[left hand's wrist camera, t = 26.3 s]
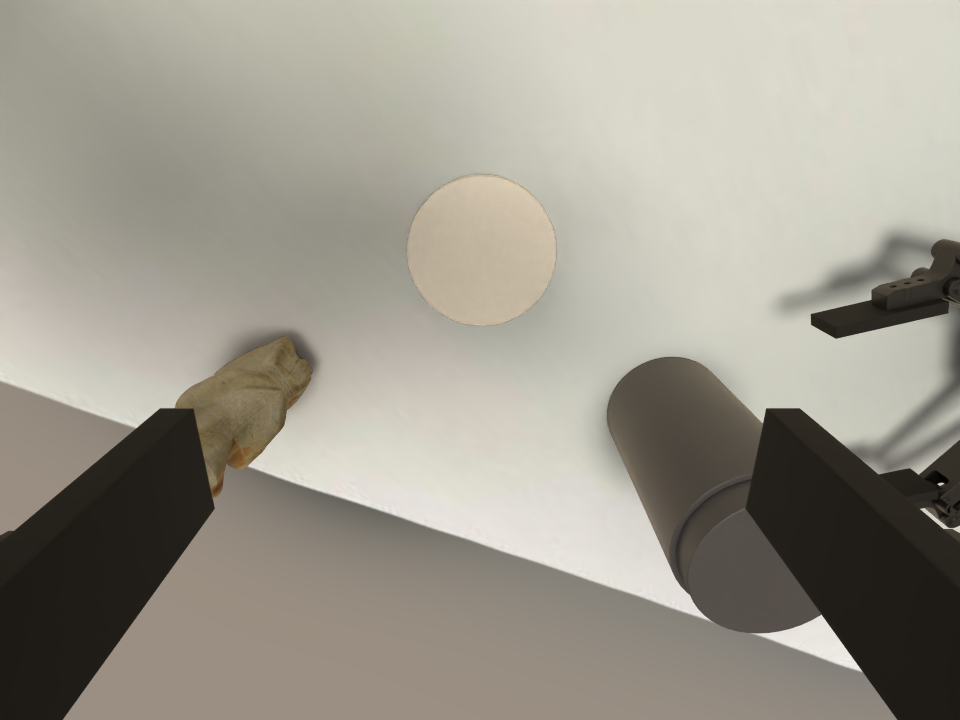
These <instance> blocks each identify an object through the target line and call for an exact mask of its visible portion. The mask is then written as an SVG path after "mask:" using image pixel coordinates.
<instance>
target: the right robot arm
mask: <svg viewBox="0 0 960 720" xmlns="http://www.w3.org/2000/svg"><path fill="white" fill-rule="evenodd" d="M931 255H932V256H933V257H934V258H935V259H934V261H933V264H932V266H931V268H930V269H927V268H924V267H923V268H918V269H916V270H915V271H914V272H913V273H912V275H911V278H908V279H904V280H900V281H895V282H891V283H887V284H882V285H879V286H878V287H876V288H874V289H873V290H872V300H870V301H865V302H861V303H857V304H852V305H848V306H844V307H839V308H835V309H831V310H826V311H822V312H818V313H814V314H811V325H812V326H814V327H816V328H818V329H820V330H821V331H823V332H825V333H827V334H829V335H830V336H832V337H834V338H836V339H837V338H841V337H845V336H850V335H854V334H859V333H863V332H867V331H872V330H876V329H881V328H885V327H889V326H894V325H898V324H903V323H907V322H911V321H916V320H920V319H925V318H929V317H933V316H938V315H942V314H947V313H948V309H949V303H950V304H952V305H954V306H956V307H958V308H959V309H960V242H955V241H951V240H944V239H942V240H940V241H938V242H936V243H935V244H934V245H933V247H932V250H931ZM879 475H880V476H881V477H882V478H883V479H884V480H886V481H887V482H888V483H889V484H890V485H892V486H893V487H894V488H895V489H896V490H898V491H899V492H900V493H901V494H902V495H904V496H905V497H906V498H907V499H908V500H909V501H911V502H912V503H913V504H914V505H915V506H917V507H918V508H919V509H921V508H925V509H926V510H927V511H929V512H930V513H931V514H932V515H934V516H935V517H936V518H937V519H938V520H940V521H941V522H942V523H943V524H945V525H946V526H947V527H949V528H955V527H958V526H960V440H959V441H958V442H957V443H956V444H954V445H953V446H952V447H951V448H950V449H949V450H947V451H946V452H945V453H944V454H943V455H942V456H940V457H939V458H938V459H937V460H936V461H935V462H933V463H932V464H931V465H930V466H929V467H928V468H926V469H925V470H924V471H923V472H922V473H921V474H919V475H918V474H917V473H915V472H914V471H913V470H911V469H910V468H908V469H903V470H899V471H894V472H889V473H884V474H879ZM938 483H945V484H943V485H942V486H939V485H938Z"/></svg>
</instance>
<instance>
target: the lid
mask: <svg viewBox="0 0 960 720" xmlns="http://www.w3.org/2000/svg"><path fill="white" fill-rule="evenodd" d="M556 253H557V247H556V238H555V234H554V229H553V227H552V224H551V221H550V219H549V217H548V215H547V213H546V211H545V210H544V209H543V207H542V206H541V204H540V203H539V202H538V201H537V200H536V199H535V198H534V197H533V196H532V195H531V194H530V193H529V192H528V191H527V190H526V189H524V188H523V187H522V186H520V185H518V184H517V183H515V182H513V181H511V180H508V179H506V178H503V177H499V176H495V175H488V174H475V175H468V176H464V177H461V178H457V179H455V180H453V181H450V182H448V183H447V184H445V185H443V186H442V187H440V188H439V189H438V190H437V191H435V192H434V193H433V194H432V195H431V196H430V197H429V198H428V199H427V200H426V202H425V203H424V204H423V205H422V207H421V208H420V209H419V211H418V212H417V214H416V216H415V218H414V220H413V222H412V225H411V228H410V231H409V236H408V241H407V261H408V266H409V271H410V274H411V277H412V280H413V282H414V284H415V286H416V288H417V289H418V291H419V293H420V294H421V296H422V297H423V298H424V299H425V300H426V302H427V303H428V304H429V305H430V306H432V307H433V308H434V309H435V310H436V311H438V312H439V313H441V314H442V315H444V316H446V317H447V318H449V319H451V320H454V321H457V322H459V323H463V324H467V325H475V326H489V325H496V324H500V323H504V322H507V321H509V320H512V319H514V318H516V317H518V316H519V315H521V314H523V313H524V312H526V311H527V310H528V309H530V308H531V307H532V306H533V305H534V304H535V303H536V302H537V301H538V300H539V298H540V297H541V296H542V295H543V293H544V292H545V290H546V288H547V287H548V285H549V282H550V280H551V278H552V275H553V272H554V269H555V263H556Z"/></svg>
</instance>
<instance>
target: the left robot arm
mask: <svg viewBox="0 0 960 720" xmlns="http://www.w3.org/2000/svg"><path fill="white" fill-rule="evenodd" d="M214 509H215V508H214V503H213V498H212V493H211V489H210V484H209V479H208V474H207V470H206V465H205V460H204V455H203V451H202V446H201V441H200V436H199V432H198V427H197V422H196V417H195V413H194V408H160V409H159V410H158V411H157V412H155V413H154V414H153V415H152V416H151V417H149V418H148V419H147V420H146V421H145V422H144V423H142V424H141V425H140V426H139V427H138V428H136V429H135V430H134V431H133V432H132V433H130V434H129V435H128V436H127V437H126V438H124V439H123V440H122V441H121V442H120V443H118V444H117V445H116V446H115V447H114V448H113V449H111V450H110V451H109V452H108V453H107V454H105V455H104V456H103V457H102V458H101V459H99V460H98V461H97V462H96V463H95V464H93V465H92V466H91V467H90V468H89V469H88V470H86V471H85V472H84V473H83V474H82V475H80V476H79V477H78V478H77V479H76V480H74V481H73V482H72V483H71V484H70V485H68V486H67V487H66V488H65V489H64V490H62V491H61V492H60V493H59V494H58V495H56V496H55V497H54V498H53V499H52V500H51V501H49V502H48V503H47V504H46V505H45V506H43V507H42V508H41V509H40V510H39V511H37V512H36V513H35V514H34V515H33V516H31V517H30V518H29V519H28V520H27V521H26V522H24V523H23V524H22V525H21V526H20V527H18V528H17V529H16V530H15V531H8V532H6V533H4V534H2V535H0V720H63V719H64V717H65V716H66V714H67V713H68V712H69V710H70V709H71V707H72V706H73V705H74V703H75V702H76V700H77V699H78V698H79V696H80V695H81V693H82V692H83V691H84V689H85V688H86V687H87V685H88V684H89V682H90V681H91V680H92V678H93V677H94V675H95V674H96V673H97V671H98V670H99V668H100V667H101V666H102V664H103V663H104V662H105V660H106V659H107V657H108V656H109V655H110V653H111V652H112V650H113V649H114V648H115V646H116V645H117V644H118V642H119V641H120V639H121V638H122V637H123V635H124V634H125V632H126V631H127V630H128V628H129V627H130V625H131V624H132V623H133V621H134V620H135V619H136V617H137V616H138V614H139V613H140V612H141V610H142V609H143V607H144V606H145V605H146V603H147V602H148V600H149V599H150V598H151V596H152V595H153V593H154V592H155V591H156V589H157V588H158V587H159V585H160V584H161V582H162V581H163V580H164V578H165V577H166V575H167V574H168V573H169V571H170V570H171V569H172V567H173V566H174V564H175V563H176V562H177V560H178V559H179V557H180V556H181V555H182V553H183V552H184V550H185V549H186V548H187V546H188V545H189V544H190V542H191V541H192V539H193V538H194V537H195V535H196V534H197V532H198V531H199V530H200V528H201V527H202V525H203V524H204V523H205V521H206V520H207V519H208V517H209V516H210V514H211V513H212V512H213V510H214ZM745 509H746V510H747V512H748V513H749V514H750V516H751V517H752V519H753V520H754V521H755V523H756V524H757V526H758V527H759V528H760V530H761V531H762V532H763V534H764V535H765V537H766V538H767V539H768V541H769V542H770V544H771V545H772V546H773V548H774V549H775V551H776V552H777V553H778V555H779V556H780V557H781V559H782V560H783V562H784V563H785V564H786V566H787V567H788V569H789V570H790V571H791V573H792V574H793V575H794V577H795V578H796V580H797V581H798V582H799V584H800V585H801V587H802V588H803V589H804V591H805V592H806V594H807V595H808V596H809V598H810V599H811V600H812V602H813V603H814V605H815V606H816V607H817V609H818V610H819V612H820V613H821V614H822V616H823V617H824V619H825V620H826V621H827V623H828V624H829V625H830V627H831V628H832V630H833V631H834V632H835V634H836V635H837V637H838V638H839V639H840V641H841V642H842V644H843V645H844V646H845V648H846V649H847V650H848V652H849V653H850V655H851V656H852V657H853V659H854V660H855V662H856V663H857V664H858V666H859V667H860V669H861V670H862V671H863V673H864V674H865V675H866V677H867V678H868V680H869V681H870V682H871V684H872V685H873V687H874V688H875V689H876V691H877V692H878V693H879V695H880V696H881V698H882V699H883V700H884V702H885V703H886V705H887V706H888V707H889V709H890V710H891V712H892V713H893V714H894V716H895V717H896V718H897V720H960V533H958V532H957V531H955V530H953V529H943V528H942V527H940V526H939V525H938V524H937V523H936V522H935V521H933V520H932V519H931V518H930V517H929V516H927V515H926V514H925V513H924V512H923V511H921V510H920V509H919V508H918V507H917V506H915V505H914V504H913V503H912V502H911V501H909V500H908V499H907V498H906V497H905V496H904V495H902V494H901V493H900V492H899V491H898V490H896V489H895V488H894V487H893V486H892V485H890V484H889V483H888V482H887V481H886V480H884V479H883V478H882V477H881V476H880V475H878V474H877V473H876V472H875V471H874V470H873V469H871V468H870V467H869V466H868V465H867V464H865V463H864V462H863V461H862V460H861V459H859V458H858V457H857V456H856V455H855V454H853V453H852V452H851V451H850V450H849V449H847V448H846V447H845V446H844V445H843V444H842V443H840V442H839V441H838V440H837V439H836V438H834V437H833V436H832V435H831V434H830V433H828V432H827V431H826V430H825V429H824V428H822V427H821V426H820V425H819V424H818V423H816V422H815V421H814V420H813V419H812V418H811V417H809V416H808V415H807V414H806V413H805V412H803V411H802V410H801V409H800V408H766V413H765V417H764V422H763V427H762V432H761V436H760V441H759V446H758V451H757V455H756V460H755V465H754V470H753V474H752V479H751V484H750V489H749V493H748V498H747V503H746V508H745Z"/></svg>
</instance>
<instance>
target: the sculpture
mask: <svg viewBox="0 0 960 720" xmlns="http://www.w3.org/2000/svg"><path fill="white" fill-rule="evenodd" d="M295 351H296V347H295V345H294V344H293V343H292V341H291V340H290V339H289V338H288V337H286V336H283V337H281V338H279V339H277V340H275V341H273V342H272V343H269V344H267V345H264V346H262V347H259V348H256V349H254V350H252V351H250V352H248V353H246V354H244V355H242V356H240V357H238V358H236V359H235V360H233V361H231V362H230V363H228V364H227V365H225V366H224V367H222V368H221V369H220V370H218V371H217V372H216V373H215V375H214V376H212V377H210V378H208V379H206V380H204V381H202V382H200V383H198V384H196V385H194V386H192V387H190V388H189V389H188V390H186V391H185V392H184V393H183V394H182V395H181V396H180V398H179V399H178V401H177V403H176V406H175V408H194V413H195V417H196V422H197V427H198V432H199V436H200V441H201V446H202V451H203V455H204V460H205V465H206V470H207V474H208V479H209V484H210V489H211V493H212V498H215V497H217V496H218V495H219V494H220V492H221V490H222V487H223V477H224V471H225V466H226V464H228V465H229V466H231V467H232V468H235V469H244V468H246V467H247V466H248V465H249V464H250V463H251V462H252V461H253V460H254V459H255V458H256V457H257V456H258V455H260V454H261V453H262V452H263V450H264V449H265V447H266V446H267V445H268V444H269V443H270V442H271V440H272V439H273V438H274V437H275V436H276V435H277V434H278V433H279V431H280V430H281V429H282V428H283V426H284V424H285V419H286V410H288V409H289V408H290V407H291V406H292V405H293V404H294V403H295V402H296V401H297V400H298V399H299V397H300V396H301V395H302V393H303V392H304V391H305V389H306V387H307V386H308V384H309V382H310V380H311V374H312V368H311V367H310V365H309V364H308V362H307V361H306V360H305V359H300V358H299V357H298V356H297V355H296V353H295Z"/></svg>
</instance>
